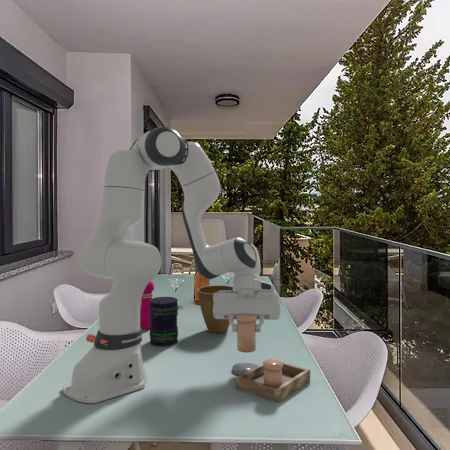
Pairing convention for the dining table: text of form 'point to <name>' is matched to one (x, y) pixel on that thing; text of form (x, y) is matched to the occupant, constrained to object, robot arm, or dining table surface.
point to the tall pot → (246, 332)
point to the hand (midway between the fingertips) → (246, 331)
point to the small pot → (273, 373)
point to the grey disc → (242, 368)
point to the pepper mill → (146, 307)
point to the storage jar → (163, 321)
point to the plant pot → (207, 308)
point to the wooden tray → (255, 385)
